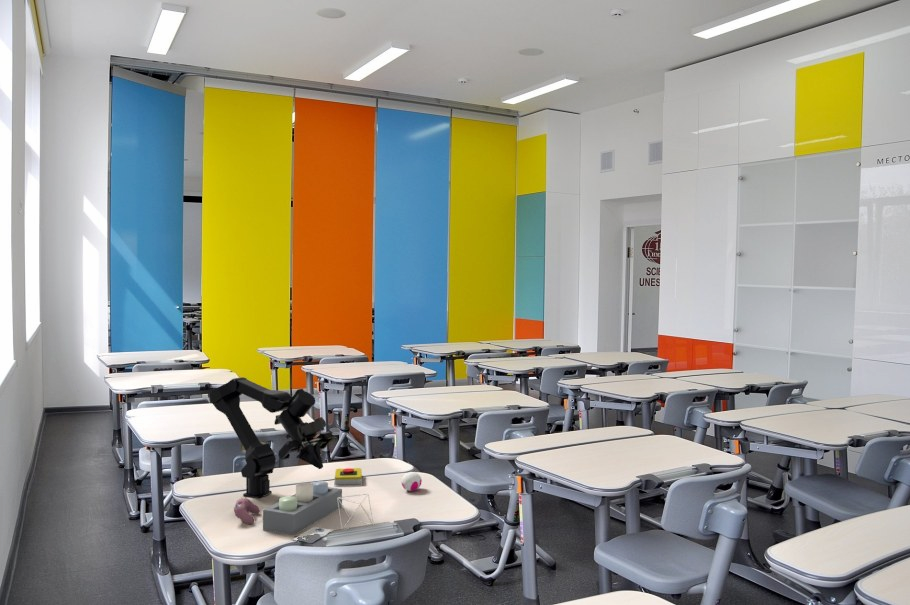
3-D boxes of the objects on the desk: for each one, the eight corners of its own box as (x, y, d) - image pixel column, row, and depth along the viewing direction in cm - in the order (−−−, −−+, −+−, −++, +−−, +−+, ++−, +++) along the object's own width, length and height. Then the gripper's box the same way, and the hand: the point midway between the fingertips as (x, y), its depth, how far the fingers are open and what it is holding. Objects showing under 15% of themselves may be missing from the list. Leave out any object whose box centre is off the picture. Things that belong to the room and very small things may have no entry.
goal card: (292, 540, 181) (292, 538, 181) (313, 528, 190) (313, 525, 190) (312, 543, 178) (312, 541, 178) (332, 531, 188) (332, 528, 188)
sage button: (275, 519, 189) (275, 500, 189) (285, 514, 194) (285, 495, 194) (290, 522, 187) (290, 502, 187) (300, 516, 192) (300, 497, 192)
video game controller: (247, 518, 202) (236, 497, 201) (261, 511, 202) (250, 490, 201) (240, 530, 192) (228, 508, 191) (255, 523, 192) (243, 501, 192)
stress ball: (409, 504, 222) (418, 489, 220) (393, 486, 225) (402, 471, 223) (423, 497, 228) (432, 482, 226) (407, 480, 232) (416, 465, 229)
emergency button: (333, 475, 228) (335, 463, 243) (333, 488, 229) (335, 476, 243) (362, 474, 230) (361, 462, 245) (362, 487, 230) (361, 475, 245)
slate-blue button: (308, 502, 204) (308, 484, 204) (317, 498, 209) (317, 480, 208) (322, 504, 202) (322, 486, 202) (330, 500, 207) (330, 482, 207)
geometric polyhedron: (334, 520, 196) (334, 494, 196) (365, 516, 200) (365, 490, 200) (344, 533, 187) (344, 505, 186) (376, 528, 190) (376, 501, 190)
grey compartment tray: (262, 529, 188) (262, 509, 188) (313, 503, 212) (313, 485, 211) (294, 534, 185) (294, 514, 184) (341, 507, 208) (342, 489, 208)
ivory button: (292, 504, 197) (292, 486, 196) (302, 499, 201) (302, 481, 201) (306, 506, 195) (307, 488, 195) (316, 501, 199) (316, 483, 199)
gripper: (285, 414, 199) (313, 458, 194) (329, 405, 215) (357, 445, 209) (266, 438, 204) (293, 481, 198) (311, 427, 219) (337, 467, 214)
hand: (321, 468), depth 205 cm, fingers closed
